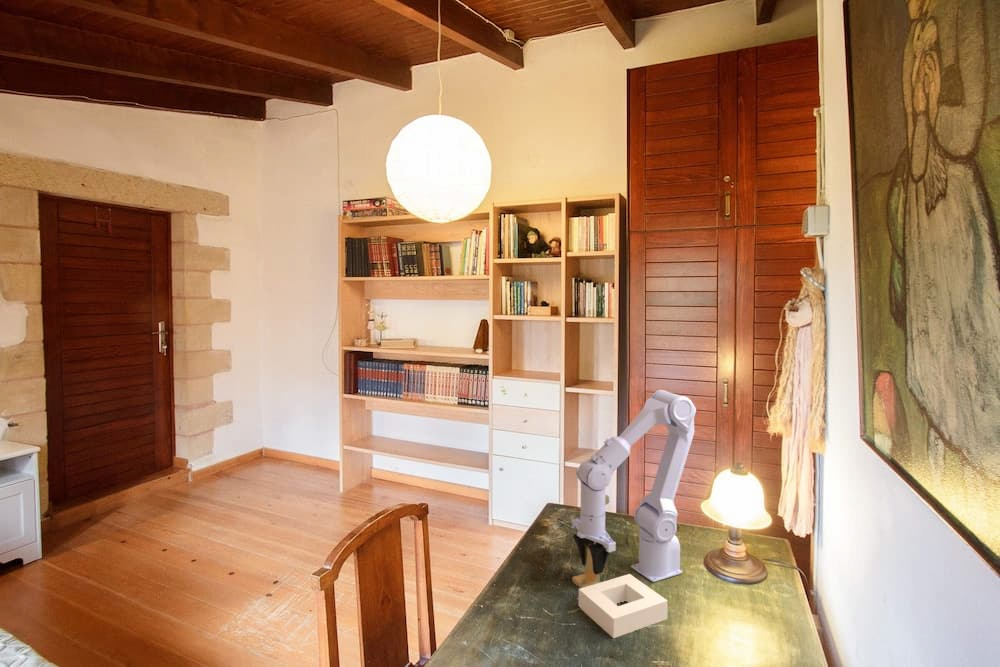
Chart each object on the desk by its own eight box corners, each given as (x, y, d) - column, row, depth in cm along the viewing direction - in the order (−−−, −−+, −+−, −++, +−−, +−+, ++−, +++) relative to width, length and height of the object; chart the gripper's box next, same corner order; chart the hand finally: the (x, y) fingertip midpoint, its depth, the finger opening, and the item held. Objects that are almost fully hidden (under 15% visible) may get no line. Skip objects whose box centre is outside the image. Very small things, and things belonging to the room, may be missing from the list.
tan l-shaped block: (589, 576, 128) (590, 543, 128) (600, 585, 125) (600, 551, 124) (572, 581, 126) (572, 548, 126) (582, 590, 123) (582, 555, 122)
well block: (629, 590, 122) (629, 573, 122) (667, 619, 112) (667, 600, 111) (578, 606, 116) (578, 588, 116) (613, 638, 105) (613, 618, 105)
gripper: (561, 504, 130) (561, 558, 131) (597, 527, 117) (597, 587, 118) (585, 499, 133) (585, 552, 134) (623, 521, 120) (622, 579, 121)
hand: (592, 568), depth 126 cm, fingers closed on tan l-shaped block, 4 cm apart
